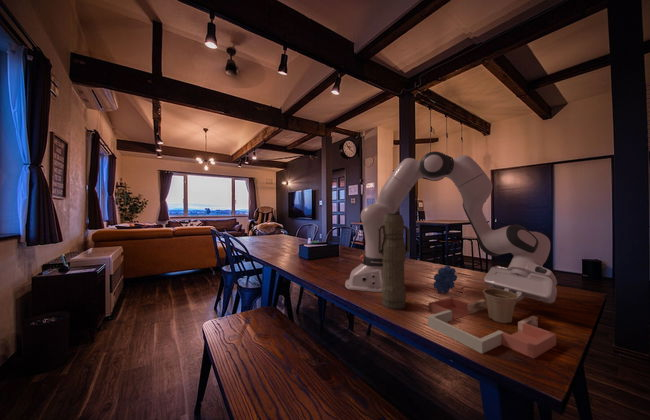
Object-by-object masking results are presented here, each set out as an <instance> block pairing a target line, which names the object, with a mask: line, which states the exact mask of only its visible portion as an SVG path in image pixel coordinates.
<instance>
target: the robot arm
mask: <svg viewBox="0 0 650 420" xmlns="http://www.w3.org/2000/svg"><path fill="white" fill-rule="evenodd" d="M388 177H389V178H387V180H386V182H384V184H383V186H382V187H381V189H380V192H379V193H378V196H377V198H376V201H374V203H371V204H369V205H366V206H365V207H364V208H363V209H362V210H361V212H360V221H361V223H362V228H363V233H364V241H365V242H364V243H365V255H363V254H361V255H360V256H359V258H360V261H361V263H360V264H358V265H357V266H356V267H355V268H354V269H352V270H351V272H350V275H349V278H348V279H346V280H345V282H344V283H345V284H344V286H345V288H346V289H347V290H350V291H351V290H352V291H363V292H371V293H372V292H373V293H382V284H383V260H382V254H381V253H378V239H377V229H378V228H379V226H382V225H383V220H384V217H385V215H387V214H396V213H397V211H398V209H399V207H400V206H401V204H402V202H403V201H404V199H405V198H406V197H407V195H408V194H409V193H410V191H411V190H412V188H413V187H414V186H415V184H416V183H417V182H418V181H419V180H420V179H424V180H428V181H431V182H436V181H437V182H438V181H441V180H443V179H444V178H447V179H450V180H451V181H452V183H453V184H454V185H455V187H456V188H457V190H458V192H459V193H460V194H459V195H460V196H461V200H462V209H463V211H464V213H465V216H466V217H467V220H469V223H470V226H471V227H472V229H473V232H474V233H475V236H476V239H477V243H478V246H479V248H480V249H481V250H482V252H484V253H485V254H486V255H488V256H491V257H498V256H501V255H504V254H511V255H512V259H511V261H510V263H509V265H508V266H507V267H506V266H501V265H495V266H492V267H490V269H489V271H488V272H487V273H486V275H485V276H484V278H483V281H484V284H485V285H486V286H487V287H488V288H490V289H500V290H505V291H509V292H512V293H514V294H516V295H517V296H518V299H517V300H516V303H515V306H516V305H517V302H519V301H522V300H523V299H524V297H525V298H528V299H533V300H536V301H539V302H543V303H546V304H553V303H554V302H555V301H556V299H557V294H558V289H557V284H558V281H557V278H556V276H555V275H554V272H553V271H551V270H550V269H548V268H546V267H543V265H544V264H545V263H546V261H547V259H548V257H549V254H550V251H551V241H550V239H549V237H548V236H546V235H545V234H543V233H542V232H538V231H531V230H528V229H527V228H526V227H524V226H522V225H519V224H510V225H507V226H503V227H500V228H498V229H492V228H491V226H490V224H489V221H488V220H487V218H486V216H485V214H484V211H483V207H484V205H485V203H486V201H487V200H488V199H489V198H490V196H491V194H492V190H493V184H492V181H491V179H490V177H489V176H488V174H487V173H486V171H484V170H483V168H482V167H481V166H480V165H479V164H478V163H477V161H476V160H474V159H473V158H472V157H471V156H469V155H460V156H456V157H455V158H453V157H452V156H450V155H448V154H445V153H443V152H440V151H436V150H435V151H429V152H428V153H426V154H424V156H422V158H421V160H417V159H416V158H412V157H408V158H407V157H406V158H404V159H403V160H402V161H401V162H400V163H399V164H398V165H397V166H396V167H395V169H394V170H393V171H392V173H391V174H390V176H388ZM383 237H384V234H383V228H381V249H382V242H383Z"/></svg>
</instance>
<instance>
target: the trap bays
mask: <svg viewBox="0 0 650 420" xmlns="http://www.w3.org/2000/svg"><path fill="white" fill-rule="evenodd" d="M469 303H470V302H466V301H463V300H461V299H458V298H455V297H452V296H449V297H446V298H441V299H438V300H435V301H431V302H429V303H428V312H429V313H431V314H432V315H433V314H437V313H440V312H443V311H446V310H451V311H452V320H451V321H453V320H457V319H459V318H463V317H465V316H469V315H471V313H469V312H467V304H469ZM503 332H504V331H503ZM501 345H503V346H504V347H507V348H509V349H512V350H514V351H516V352H517V353H520V354H523V355H524V356H527V357H529V358H531V359H534V360H535V359H536V358H537V357H540V356H541V355H542V354H544V353H546V352H547V351H549V350H550V349H553V348H554V347H556V345H557V334H556V333H555V332H552V331H548V330H546V329H544V328H540V327H535V326H532V325H529V324H526V323H524V324H523V333H520V332H518V331H516V332H514V333H512V334H509V333H507V332H504V333H502V344H501Z"/></svg>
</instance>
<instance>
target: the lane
mask: <svg viewBox="0 0 650 420" xmlns="http://www.w3.org/2000/svg"><path fill="white" fill-rule="evenodd" d="M468 303H469V304H467V312H469V313H471V314H474V313H478V312H480V311H483V310H485V309H487V307H486V306H487V301H486V300H485V299H479V300H476V301H472V302H468ZM471 314H470V315H471ZM538 320H539V319H538V316H535V315H531V316H529V317H526V318H524V319H522V320H520V321H518V322H517V332H520V333H523V324H524V323H526V324H529V325H532V326H535V327H538V325H539V324H538V322H539V321H538ZM538 328H539V327H538Z"/></svg>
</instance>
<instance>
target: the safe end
mask: <svg viewBox="0 0 650 420" xmlns="http://www.w3.org/2000/svg"><path fill="white" fill-rule="evenodd" d="M451 321H453V320H452V311H451V310H446V311H443V312H440V313H437V314H433V313H432V314H431V315H428V316H427V326H428V327H430V328H431V329H433V330H435V331H438V332H439V333H441V334H443V335H445V336H446V337H449V338H451V339H453V340H455V341H457V342H458V343H460V344H462V345H463V346H464V345H465V346H467V347H468V348H471V349H472V350H474V351H476V352H478V353H480V354H484V353H487V352H489V351H492V350H493V349H495V348H497V347H499V346H501V345H502V333H504V331H502V330H499V329H498V330H496V331H494V332H492V333H489V334H487V335H485V336H482V337H478V336H476V335H474V334H471V333H469V332H467V331H465V330H462V329H460V328H458V327H456V326H453V325H452V324H450V323H448V322H451Z"/></svg>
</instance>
